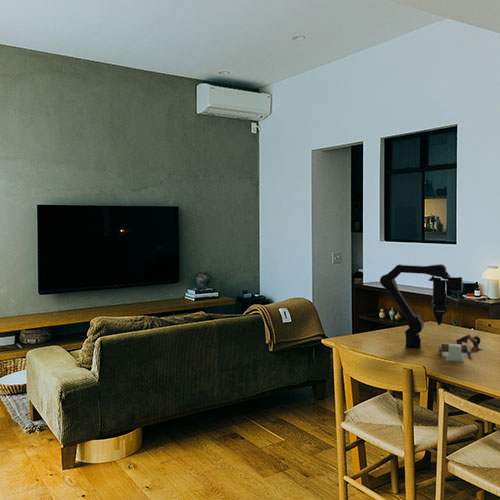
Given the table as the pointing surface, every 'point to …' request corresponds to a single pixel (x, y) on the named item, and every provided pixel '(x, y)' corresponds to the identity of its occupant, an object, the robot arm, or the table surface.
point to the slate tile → (454, 360)
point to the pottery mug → (472, 339)
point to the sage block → (454, 352)
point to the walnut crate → (464, 350)
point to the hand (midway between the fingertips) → (439, 323)
